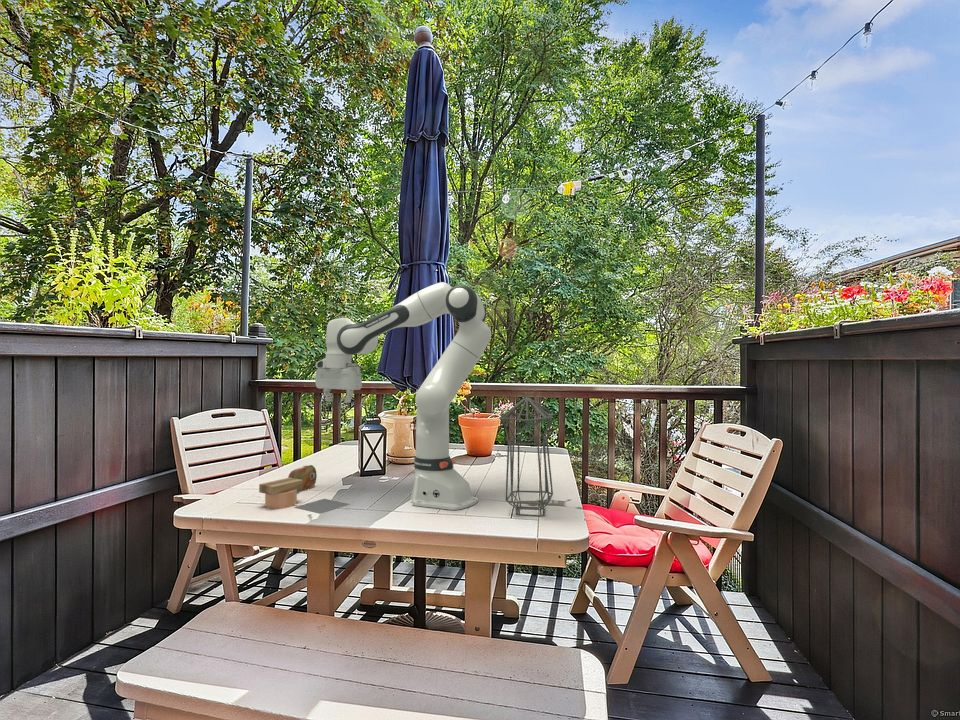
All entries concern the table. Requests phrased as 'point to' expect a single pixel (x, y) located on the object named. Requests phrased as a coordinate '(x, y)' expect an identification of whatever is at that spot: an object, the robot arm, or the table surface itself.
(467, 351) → the robot arm
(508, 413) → the geometric lantern
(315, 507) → the mat
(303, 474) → the brown mottled rounded slab
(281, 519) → the table surface
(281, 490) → the cover board
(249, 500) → the table surface
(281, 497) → the bowl
